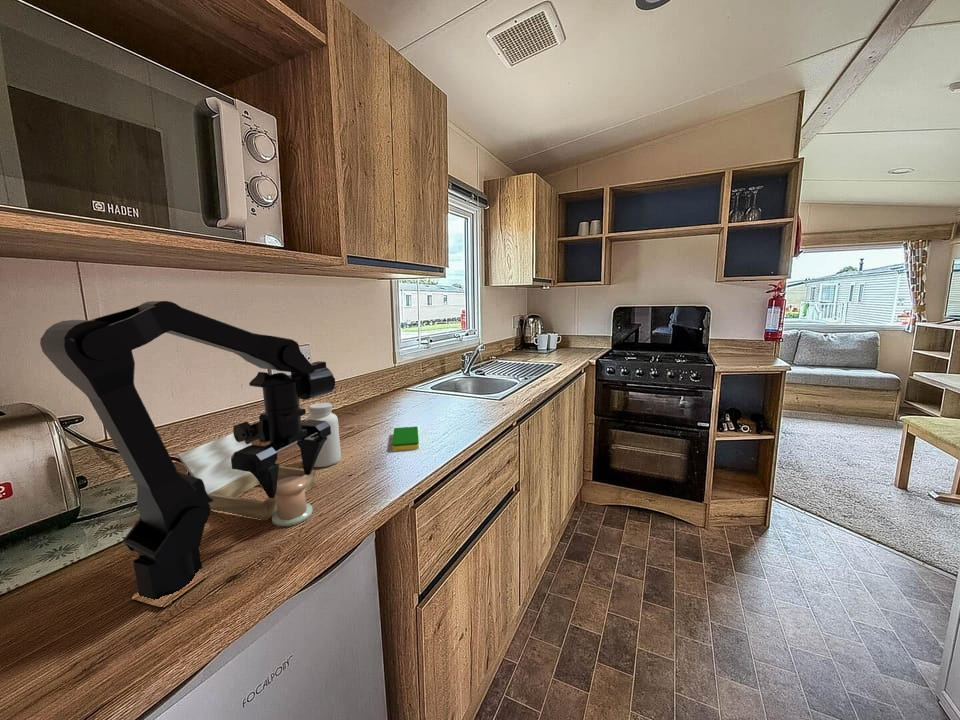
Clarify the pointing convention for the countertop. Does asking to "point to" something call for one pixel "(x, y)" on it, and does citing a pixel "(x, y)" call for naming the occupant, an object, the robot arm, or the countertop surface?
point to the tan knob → (291, 497)
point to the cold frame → (233, 478)
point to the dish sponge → (405, 439)
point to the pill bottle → (332, 444)
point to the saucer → (292, 521)
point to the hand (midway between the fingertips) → (290, 485)
